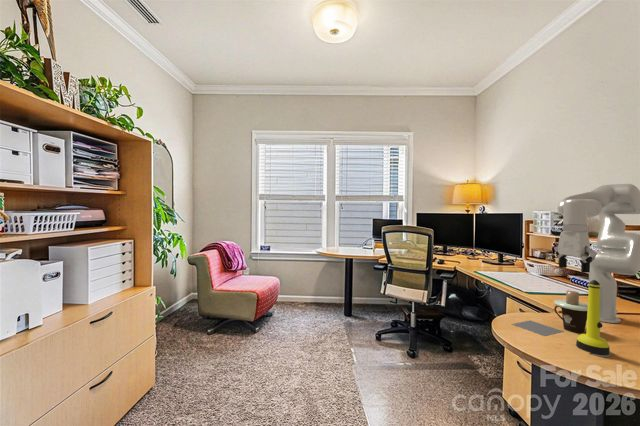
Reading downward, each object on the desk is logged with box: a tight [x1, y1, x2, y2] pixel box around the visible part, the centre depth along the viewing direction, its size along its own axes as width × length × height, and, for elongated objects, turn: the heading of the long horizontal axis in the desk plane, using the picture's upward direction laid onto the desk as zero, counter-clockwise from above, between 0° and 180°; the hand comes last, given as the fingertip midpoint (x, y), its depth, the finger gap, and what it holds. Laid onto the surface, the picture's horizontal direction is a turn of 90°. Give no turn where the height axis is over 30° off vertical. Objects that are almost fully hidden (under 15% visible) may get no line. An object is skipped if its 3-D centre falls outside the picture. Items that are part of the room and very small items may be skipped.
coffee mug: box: [554, 305, 588, 335], centre depth 124 cm, size 12×9×10 cm
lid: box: [553, 290, 588, 311], centre depth 124 cm, size 12×12×6 cm
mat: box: [511, 320, 565, 337], centre depth 124 cm, size 13×13×1 cm
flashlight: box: [575, 280, 611, 358], centre depth 105 cm, size 25×9×9 cm
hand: (573, 269), depth 124 cm, fingers open, 9 cm apart
